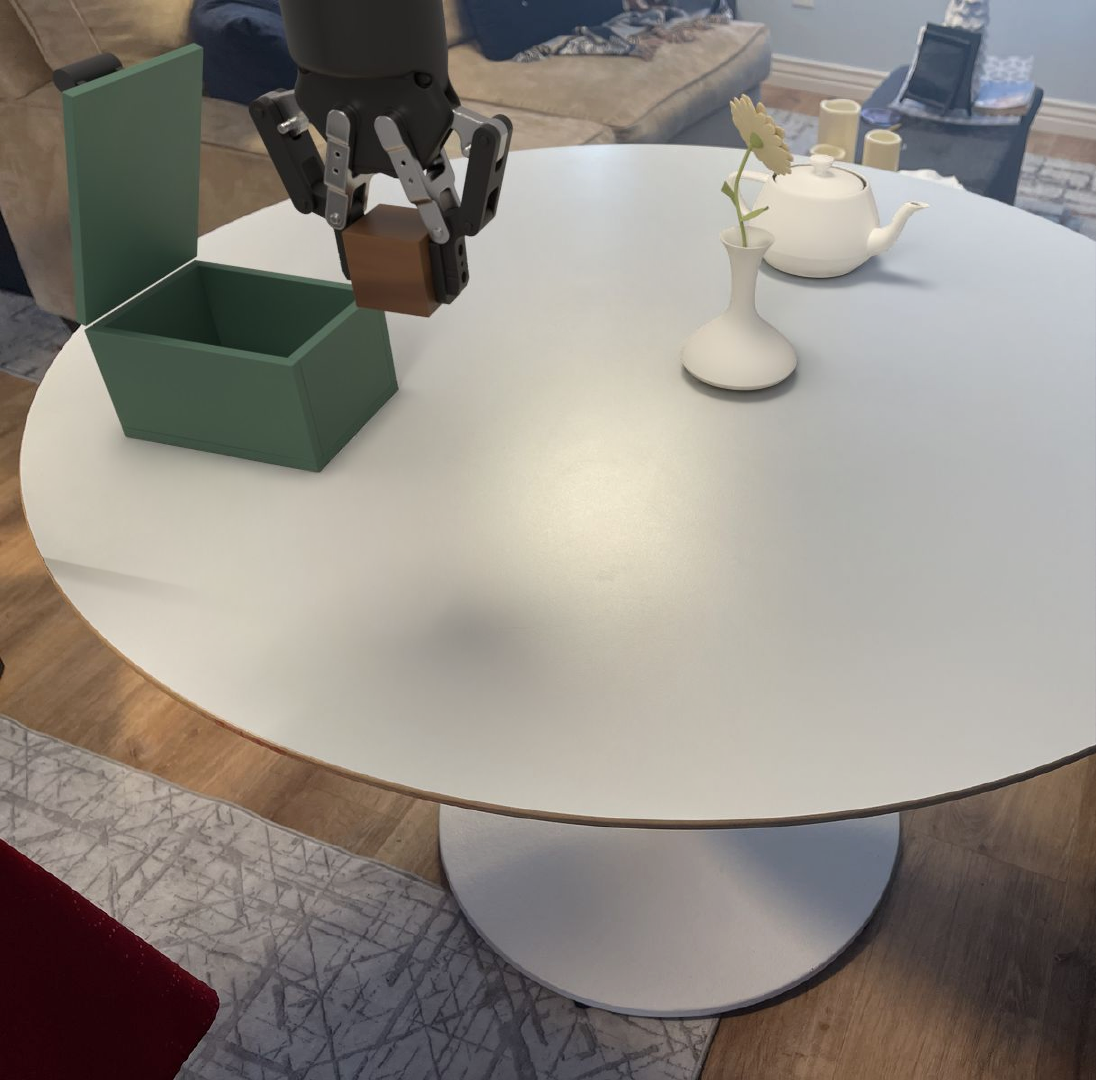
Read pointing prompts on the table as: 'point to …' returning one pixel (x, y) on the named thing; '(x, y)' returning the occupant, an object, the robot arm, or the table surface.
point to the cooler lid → (131, 172)
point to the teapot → (821, 218)
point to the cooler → (246, 364)
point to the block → (391, 261)
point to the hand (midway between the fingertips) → (407, 290)
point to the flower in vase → (745, 281)
